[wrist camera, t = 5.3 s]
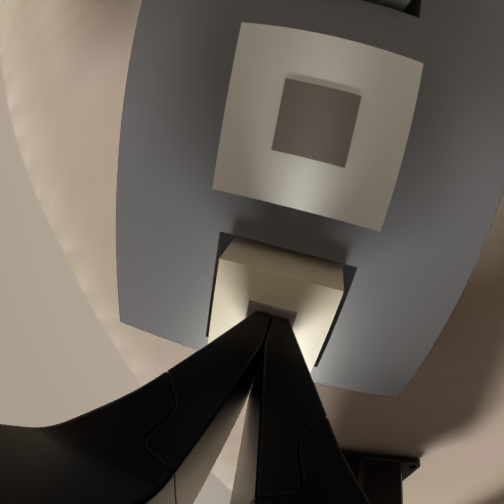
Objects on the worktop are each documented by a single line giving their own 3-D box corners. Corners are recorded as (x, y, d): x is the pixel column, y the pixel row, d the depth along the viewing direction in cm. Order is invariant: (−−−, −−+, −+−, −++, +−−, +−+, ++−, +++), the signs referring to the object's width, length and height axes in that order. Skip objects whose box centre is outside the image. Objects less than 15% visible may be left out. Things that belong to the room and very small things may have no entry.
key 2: (314, 322, 11) (308, 380, 8) (232, 300, 11) (205, 351, 9) (341, 246, 10) (344, 293, 7) (246, 221, 10) (217, 259, 7)
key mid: (364, 194, 8) (381, 234, 5) (248, 165, 8) (210, 190, 5) (391, 79, 6) (425, 62, 4) (269, 51, 7) (240, 20, 4)
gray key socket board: (389, 344, 12) (397, 398, 9) (157, 281, 13) (120, 321, 11) (487, -18, 5) (525, -44, 3) (214, -78, 7) (183, -117, 4)
